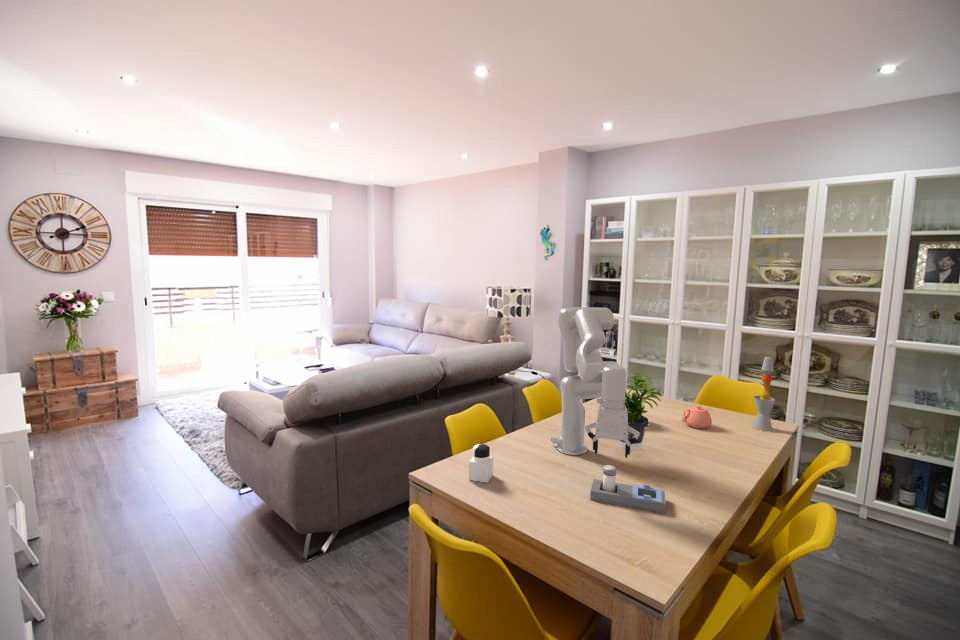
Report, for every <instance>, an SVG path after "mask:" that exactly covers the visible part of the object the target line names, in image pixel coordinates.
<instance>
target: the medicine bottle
mask: <svg viewBox="0 0 960 640" xmlns="http://www.w3.org/2000/svg"><path fill="white" fill-rule="evenodd" d="M490 449H491V448H490V446H489V445H488V444H485V443H477V444H476V445H474V446H473V447H472V457H471V459H469V461H468V481H471V480H473V481H472V482H477V481H480V482H479V483H482V482H486V483H485V484H488V482H489V481H490V480H491V479H492V477H493V476H492V475H494V456H490V453H491V452H490Z"/></svg>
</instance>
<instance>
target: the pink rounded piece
mask: <svg viewBox="0 0 960 640" xmlns="http://www.w3.org/2000/svg"><path fill="white" fill-rule="evenodd" d="M682 415H683V417H682V418H681V422H683V423H685V424H686V425H687V426H689V427H692V428H693V427H696V428H695V429H707V428H709V427H710V426H712V424H713V421H712V416H711V415H710V413H709V410H708V409H706V408H705V407H702V405H701V404H700V405H699V404H697V405H695V406H691V407H689V408H685V409H684V410H683V411H682Z"/></svg>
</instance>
